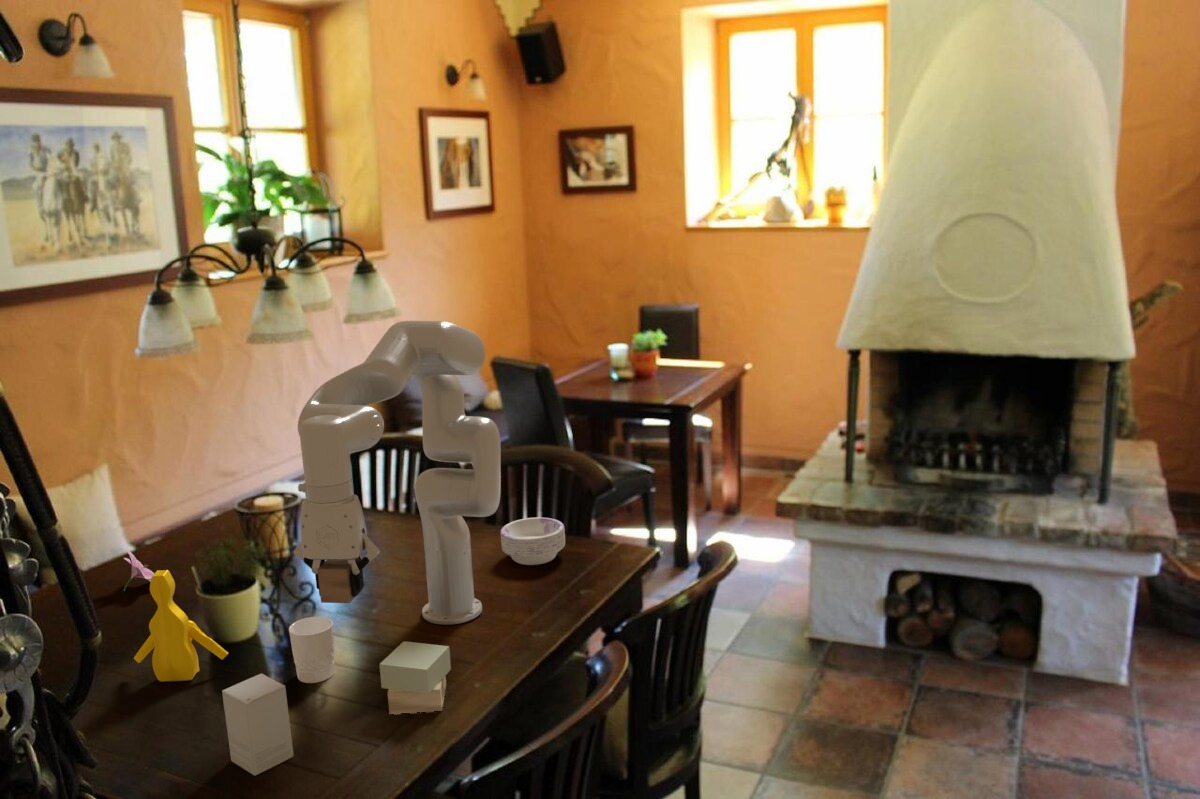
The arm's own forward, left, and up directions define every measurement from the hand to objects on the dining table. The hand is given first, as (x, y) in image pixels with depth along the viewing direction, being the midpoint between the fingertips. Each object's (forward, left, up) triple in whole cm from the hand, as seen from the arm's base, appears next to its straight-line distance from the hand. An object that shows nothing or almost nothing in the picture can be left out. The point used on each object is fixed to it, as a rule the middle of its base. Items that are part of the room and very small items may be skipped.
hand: (340, 591), depth 176 cm
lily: (-52, -69, -23) cm, 89 cm away
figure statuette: (-12, -38, -23) cm, 46 cm away
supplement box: (+14, -10, -23) cm, 29 cm away
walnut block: (0, 0, -1) cm, 1 cm away
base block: (-5, +10, -23) cm, 26 cm away
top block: (-5, +10, -19) cm, 22 cm away
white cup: (-14, -12, -23) cm, 29 cm away
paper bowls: (-73, +19, -23) cm, 79 cm away
